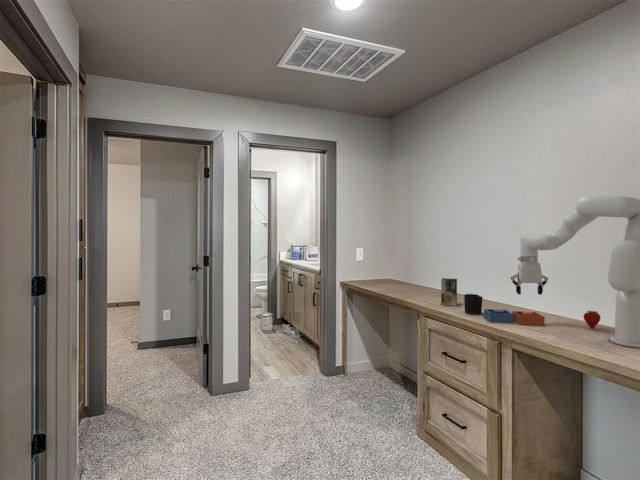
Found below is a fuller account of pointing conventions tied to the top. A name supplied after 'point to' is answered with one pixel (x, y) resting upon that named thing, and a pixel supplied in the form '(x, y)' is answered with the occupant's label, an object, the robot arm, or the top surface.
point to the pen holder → (473, 304)
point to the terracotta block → (528, 314)
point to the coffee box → (449, 291)
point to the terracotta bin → (528, 319)
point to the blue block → (499, 311)
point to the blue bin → (498, 316)
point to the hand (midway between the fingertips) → (529, 294)
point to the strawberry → (592, 318)
